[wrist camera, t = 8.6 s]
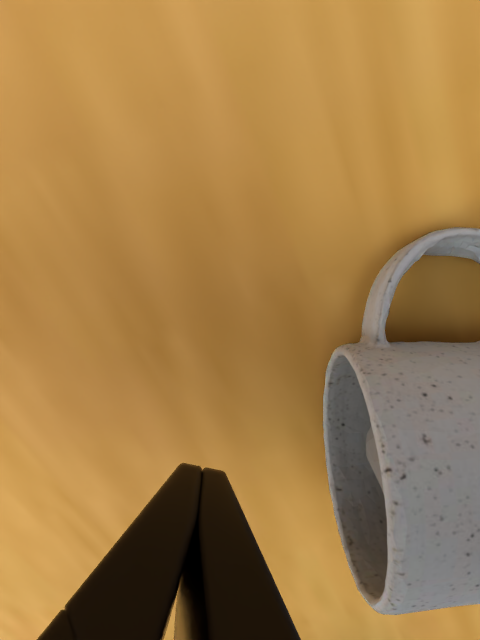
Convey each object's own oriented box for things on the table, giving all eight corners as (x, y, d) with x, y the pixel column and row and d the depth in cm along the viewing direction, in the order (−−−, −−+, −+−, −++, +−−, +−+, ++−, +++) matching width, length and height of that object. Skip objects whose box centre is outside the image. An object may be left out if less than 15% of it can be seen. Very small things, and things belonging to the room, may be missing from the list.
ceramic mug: (514, 466, 18) (688, 669, 11) (321, 476, 19) (369, 679, 11) (564, 213, 14) (879, 272, 7) (319, 230, 15) (389, 304, 8)
